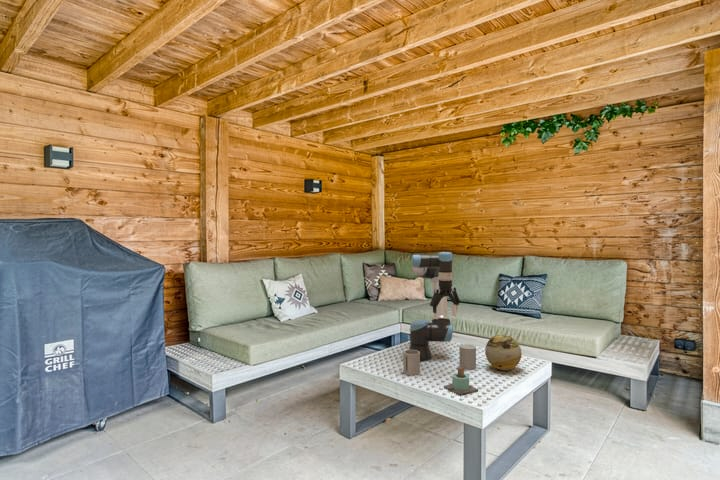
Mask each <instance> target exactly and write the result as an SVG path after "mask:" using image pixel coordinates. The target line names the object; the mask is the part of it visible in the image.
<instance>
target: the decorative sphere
mask: <svg viewBox="0 0 720 480" xmlns="http://www.w3.org/2000/svg"><path fill="white" fill-rule="evenodd" d="M484 353H485V357H486V360H487V361H488V363H489V364H490V365H491V366H492V367H493V368H495V369H496V370H497V369H498V370H501V371H510V370H513V369H514V368H516V367H517V366H518V365H519V363H520V361H521V359H522V355H523V354H522V348H521V346H520V344H519V343H518V341H517V340H516V339H515V338H513V337H512V336H511V335H510V336H509V335H508V334H496V335H494V336H492V337H491V338H489V340H488V341H487V342H486V344H485V349H484Z"/></svg>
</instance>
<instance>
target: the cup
mask: <svg viewBox="0 0 720 480" xmlns="http://www.w3.org/2000/svg"><path fill="white" fill-rule="evenodd" d="M403 374H404V375H405V374H406V375H405V376H408V375H410V376H409V377H415V375H417V376H419V375H420V374H421V361H420V352H419V351H417V350H409V349H406V350H403ZM411 375H412V376H411Z"/></svg>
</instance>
